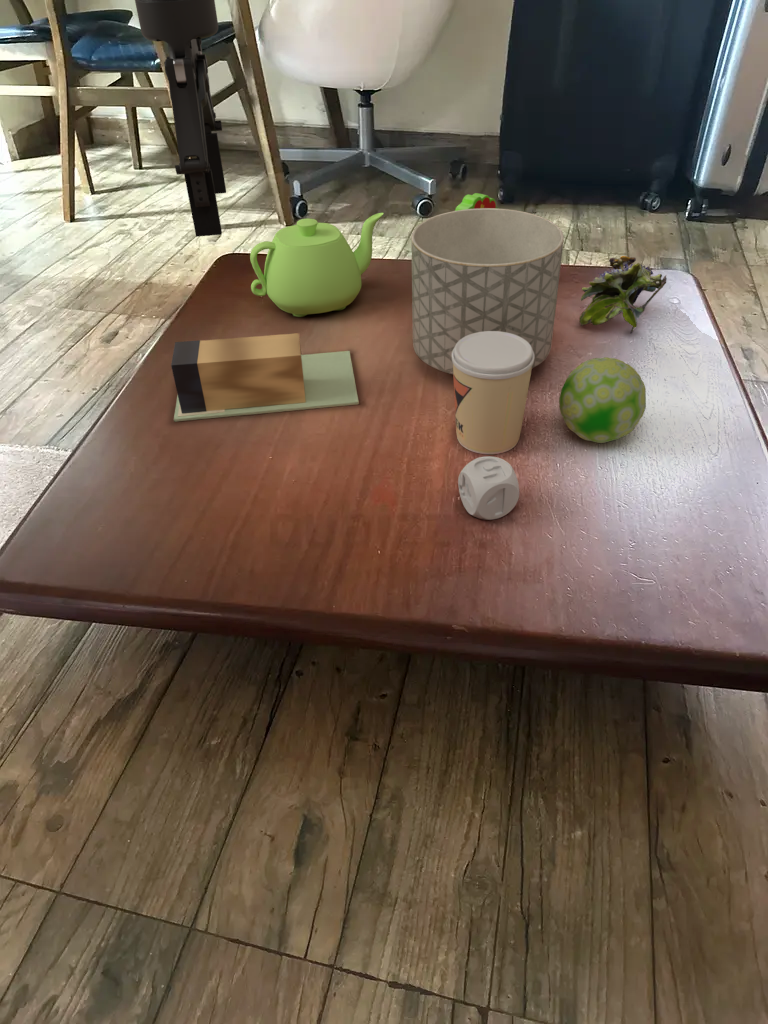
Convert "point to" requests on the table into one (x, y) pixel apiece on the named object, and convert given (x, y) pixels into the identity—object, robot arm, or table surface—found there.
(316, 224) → the teapot
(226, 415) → the envelope
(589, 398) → the decorative ball
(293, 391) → the beech block
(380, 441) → the table surface
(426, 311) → the planter
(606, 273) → the passion flower
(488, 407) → the coffee cup
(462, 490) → the die
